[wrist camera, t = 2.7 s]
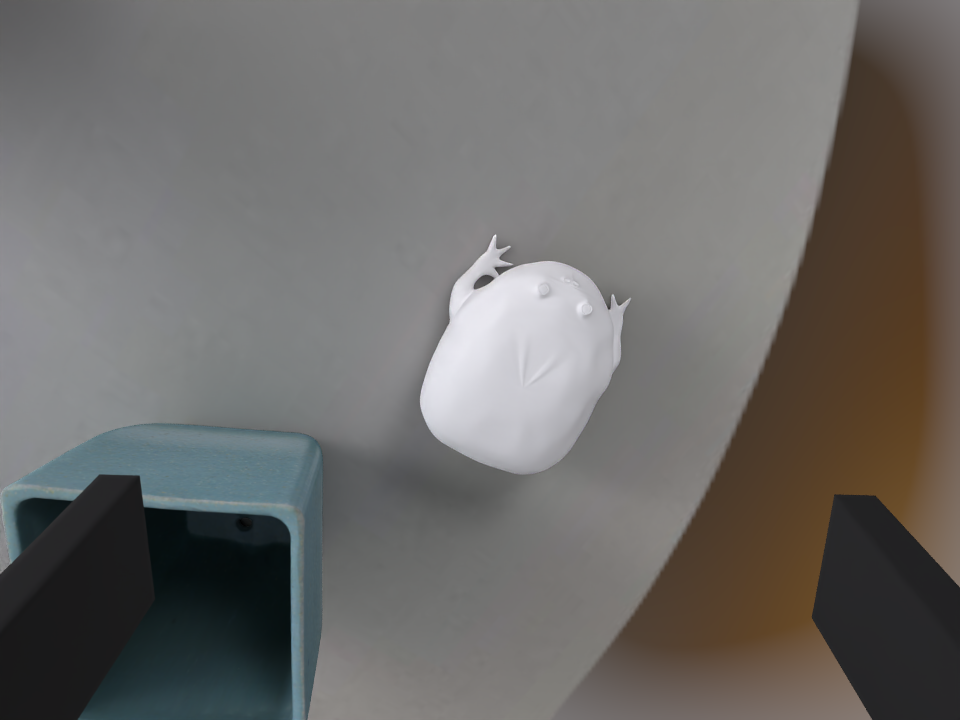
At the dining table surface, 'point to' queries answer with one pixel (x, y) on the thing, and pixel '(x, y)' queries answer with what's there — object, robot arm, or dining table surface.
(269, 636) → the flower pot
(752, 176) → the dining table surface
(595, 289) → the white frog figurine
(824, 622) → the robot arm
